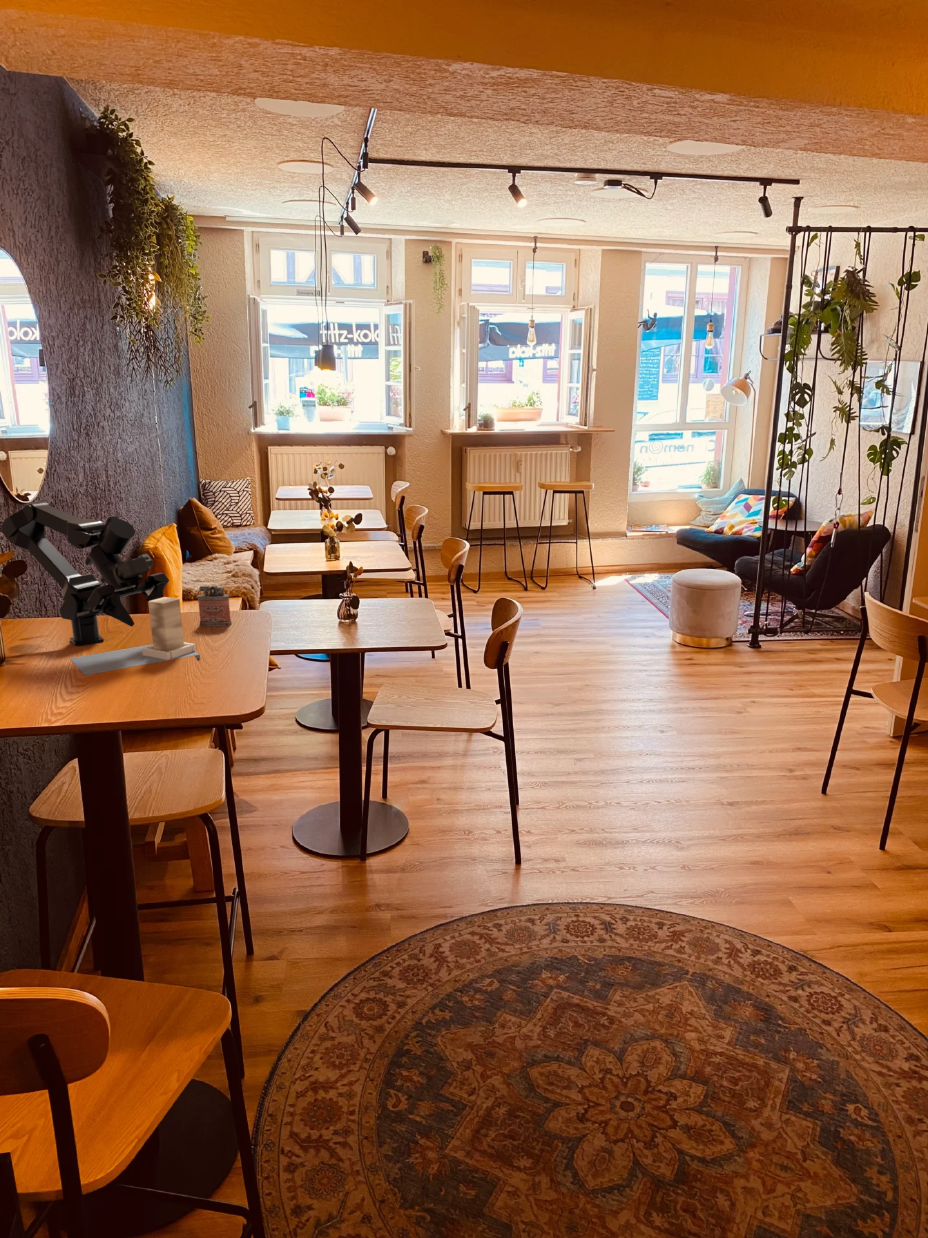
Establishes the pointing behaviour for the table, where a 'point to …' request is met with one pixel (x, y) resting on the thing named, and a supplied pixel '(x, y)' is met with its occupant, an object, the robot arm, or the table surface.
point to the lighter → (214, 606)
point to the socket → (171, 654)
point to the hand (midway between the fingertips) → (150, 620)
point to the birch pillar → (166, 624)
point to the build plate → (118, 660)
